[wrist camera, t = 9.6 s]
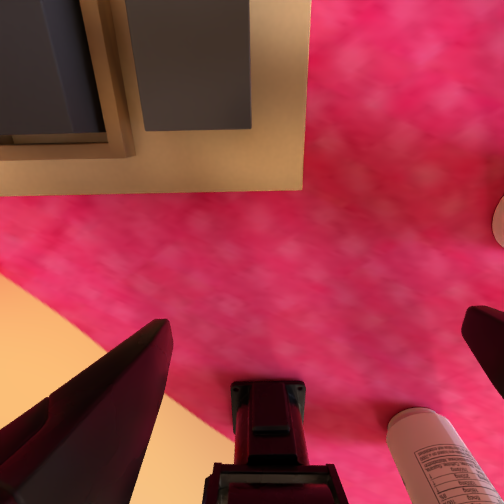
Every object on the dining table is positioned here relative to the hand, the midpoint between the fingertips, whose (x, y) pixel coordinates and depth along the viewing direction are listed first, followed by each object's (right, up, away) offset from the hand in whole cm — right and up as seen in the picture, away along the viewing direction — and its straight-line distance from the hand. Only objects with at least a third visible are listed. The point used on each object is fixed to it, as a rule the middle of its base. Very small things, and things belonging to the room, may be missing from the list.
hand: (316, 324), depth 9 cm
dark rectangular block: (-13, +12, +6) cm, 18 cm away
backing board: (-8, +13, +7) cm, 17 cm away
